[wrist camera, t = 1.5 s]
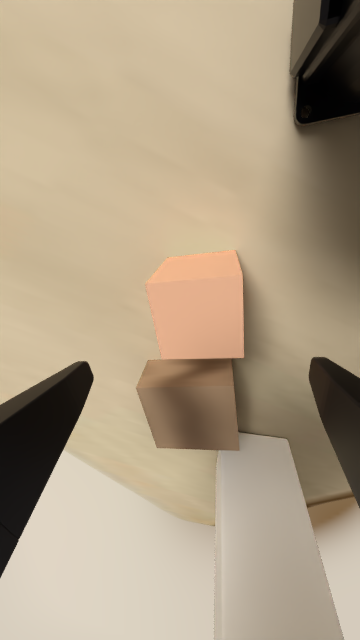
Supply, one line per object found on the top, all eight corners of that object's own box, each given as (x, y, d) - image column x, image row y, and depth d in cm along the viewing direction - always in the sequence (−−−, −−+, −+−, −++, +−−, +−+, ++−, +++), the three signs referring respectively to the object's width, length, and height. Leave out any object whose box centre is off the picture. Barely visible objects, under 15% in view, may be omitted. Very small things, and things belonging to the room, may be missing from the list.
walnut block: (231, 354, 21) (233, 385, 17) (236, 414, 24) (239, 450, 21) (148, 358, 23) (136, 387, 19) (165, 414, 26) (157, 447, 23)
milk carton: (220, 428, 25) (223, 861, 9) (287, 437, 24) (430, 941, 8) (216, 465, 29) (211, 827, 12) (274, 473, 28) (355, 880, 11)
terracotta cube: (235, 249, 16) (242, 275, 11) (237, 312, 18) (244, 357, 13) (167, 257, 17) (145, 283, 12) (177, 315, 19) (161, 359, 14)
